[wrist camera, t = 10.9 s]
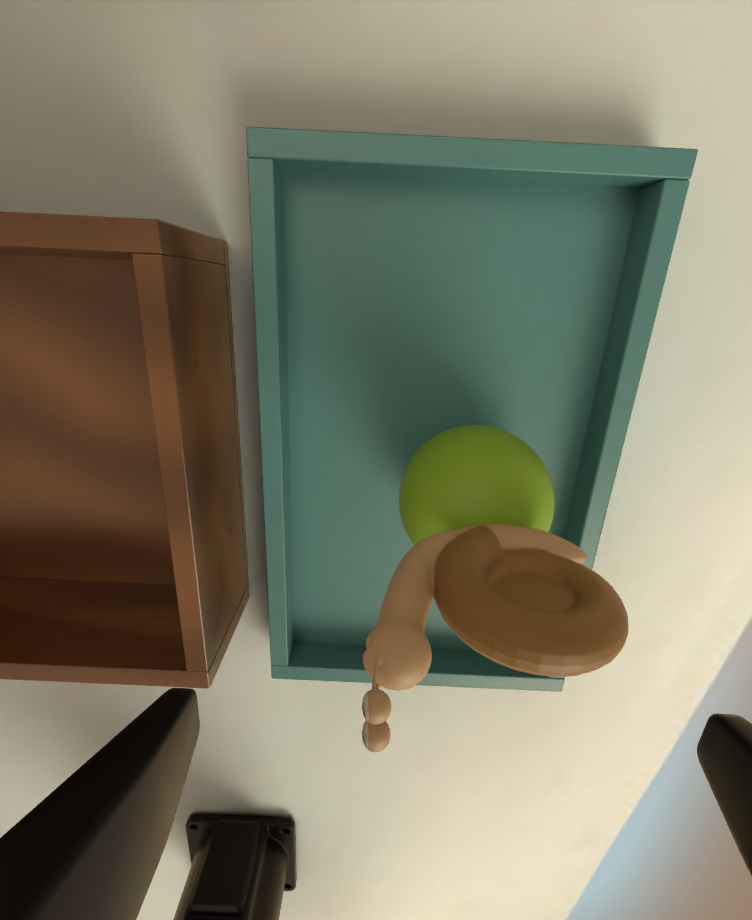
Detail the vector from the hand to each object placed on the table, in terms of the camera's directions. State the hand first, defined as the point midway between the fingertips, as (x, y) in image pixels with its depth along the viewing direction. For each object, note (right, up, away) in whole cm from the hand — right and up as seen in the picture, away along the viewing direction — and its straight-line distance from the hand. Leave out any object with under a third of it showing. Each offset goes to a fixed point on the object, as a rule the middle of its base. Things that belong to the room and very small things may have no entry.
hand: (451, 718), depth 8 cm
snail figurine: (+2, +4, +11) cm, 12 cm away
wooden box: (-15, +6, +11) cm, 20 cm away
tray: (+1, +5, +11) cm, 12 cm away
